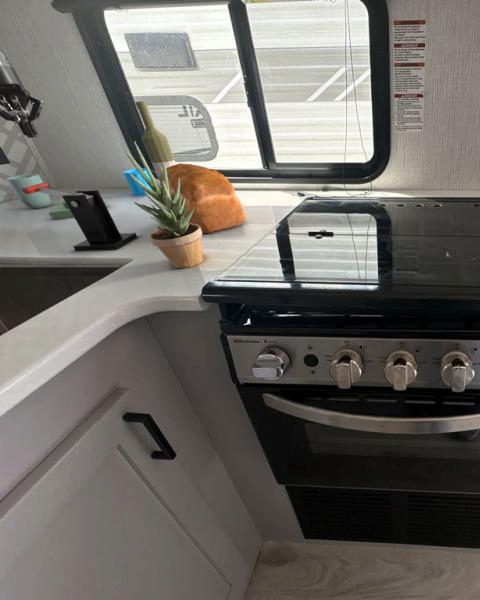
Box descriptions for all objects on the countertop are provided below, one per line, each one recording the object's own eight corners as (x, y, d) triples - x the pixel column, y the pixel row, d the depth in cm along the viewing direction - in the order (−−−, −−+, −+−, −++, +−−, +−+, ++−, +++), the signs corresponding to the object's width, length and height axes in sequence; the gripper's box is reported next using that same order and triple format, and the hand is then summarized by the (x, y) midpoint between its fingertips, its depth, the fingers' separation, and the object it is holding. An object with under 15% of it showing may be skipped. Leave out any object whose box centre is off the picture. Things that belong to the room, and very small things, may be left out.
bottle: (180, 199, 117) (143, 101, 101) (161, 200, 118) (121, 102, 101) (191, 194, 123) (158, 101, 107) (173, 194, 123) (137, 101, 107)
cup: (26, 206, 114) (7, 176, 109) (56, 202, 119) (39, 173, 113) (25, 211, 109) (4, 180, 104) (55, 206, 114) (38, 176, 108)
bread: (202, 237, 86) (179, 175, 77) (165, 217, 100) (142, 163, 92) (252, 222, 94) (236, 165, 86) (211, 206, 109) (194, 156, 101)
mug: (133, 192, 128) (123, 170, 123) (157, 189, 132) (148, 167, 127) (133, 199, 119) (122, 175, 115) (159, 195, 123) (150, 172, 119)
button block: (53, 219, 101) (45, 206, 99) (63, 211, 109) (56, 198, 107) (100, 213, 106) (94, 200, 104) (107, 205, 113) (101, 193, 111)
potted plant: (157, 263, 73) (99, 141, 60) (201, 249, 79) (158, 136, 66) (173, 277, 67) (113, 145, 54) (219, 261, 73) (176, 139, 60)
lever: (23, 195, 74) (20, 185, 73) (43, 189, 79) (40, 179, 77) (83, 210, 77) (81, 200, 75) (99, 203, 81) (97, 194, 80)
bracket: (75, 250, 80) (43, 198, 73) (99, 238, 87) (72, 188, 80) (116, 249, 80) (88, 196, 74) (137, 237, 87) (113, 187, 80)
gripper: (31, 66, 92) (65, 134, 102) (-34, 65, 88) (8, 137, 97) (19, 63, 87) (56, 137, 96) (-51, 63, 82) (-5, 140, 91)
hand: (32, 137), depth 96 cm, fingers closed
